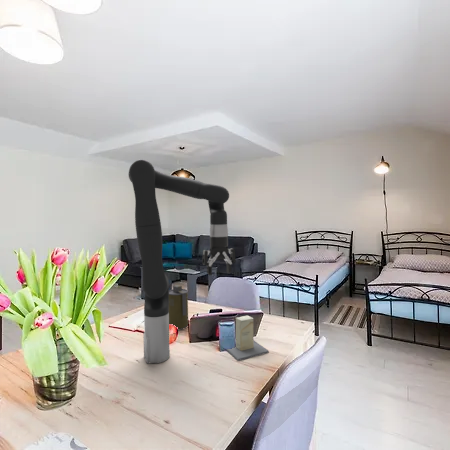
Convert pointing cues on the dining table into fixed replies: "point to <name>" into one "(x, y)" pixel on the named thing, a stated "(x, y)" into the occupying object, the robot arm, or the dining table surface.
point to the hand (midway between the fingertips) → (219, 274)
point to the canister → (178, 307)
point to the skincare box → (244, 333)
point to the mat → (247, 352)
